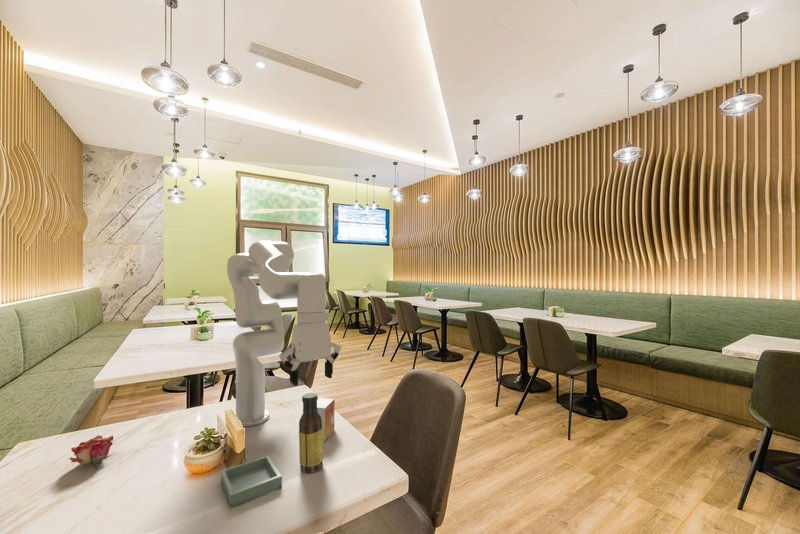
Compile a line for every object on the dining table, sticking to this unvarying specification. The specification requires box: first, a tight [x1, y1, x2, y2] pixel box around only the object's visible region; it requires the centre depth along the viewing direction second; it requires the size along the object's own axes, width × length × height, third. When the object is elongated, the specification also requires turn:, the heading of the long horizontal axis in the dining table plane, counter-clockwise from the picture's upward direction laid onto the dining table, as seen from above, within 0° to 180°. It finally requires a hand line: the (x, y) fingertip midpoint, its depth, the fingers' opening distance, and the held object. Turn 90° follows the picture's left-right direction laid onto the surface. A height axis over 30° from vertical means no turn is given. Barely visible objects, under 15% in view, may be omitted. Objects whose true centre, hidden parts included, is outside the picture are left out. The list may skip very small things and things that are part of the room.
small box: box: [317, 397, 336, 442], centre depth 110 cm, size 8×6×10 cm
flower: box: [69, 435, 115, 470], centre depth 92 cm, size 10×9×8 cm
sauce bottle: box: [298, 392, 324, 474], centre depth 92 cm, size 6×6×20 cm
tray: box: [220, 454, 283, 509], centre depth 84 cm, size 12×12×3 cm
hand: (311, 380), depth 91 cm, fingers open, 9 cm apart
